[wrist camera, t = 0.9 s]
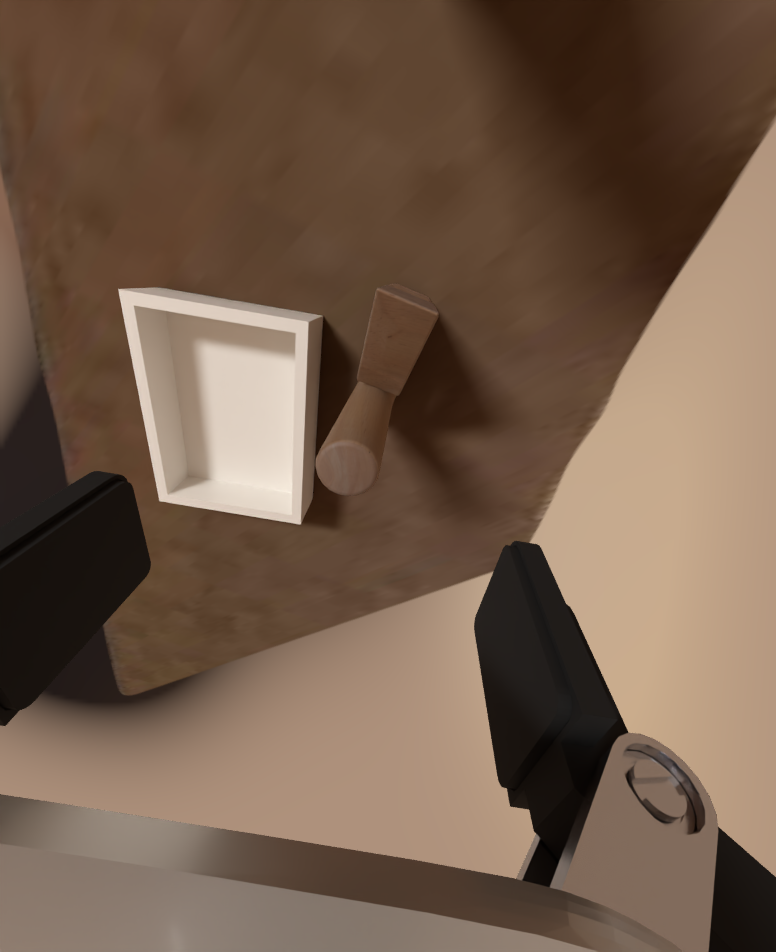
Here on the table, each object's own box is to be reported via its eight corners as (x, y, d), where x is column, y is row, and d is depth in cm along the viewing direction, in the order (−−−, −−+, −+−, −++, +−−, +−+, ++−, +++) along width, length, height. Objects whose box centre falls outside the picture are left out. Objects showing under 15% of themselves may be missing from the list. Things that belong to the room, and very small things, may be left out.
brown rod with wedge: (431, 298, 31) (445, 319, 16) (389, 409, 36) (367, 509, 21) (392, 281, 31) (365, 286, 15) (354, 396, 36) (306, 488, 20)
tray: (158, 287, 32) (118, 289, 28) (323, 315, 33) (308, 321, 28) (186, 477, 42) (159, 501, 38) (312, 498, 42) (300, 524, 38)
